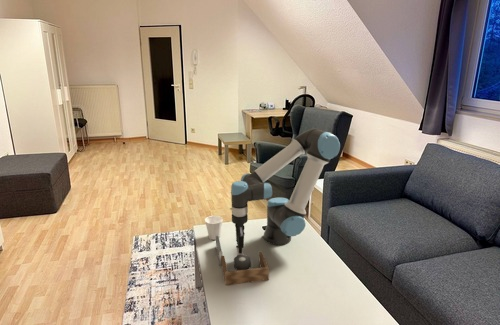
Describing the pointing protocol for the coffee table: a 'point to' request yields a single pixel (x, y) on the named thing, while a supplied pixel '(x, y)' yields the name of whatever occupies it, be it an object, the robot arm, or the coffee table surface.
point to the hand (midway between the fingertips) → (240, 257)
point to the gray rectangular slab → (219, 250)
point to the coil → (242, 262)
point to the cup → (213, 226)
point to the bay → (246, 273)
